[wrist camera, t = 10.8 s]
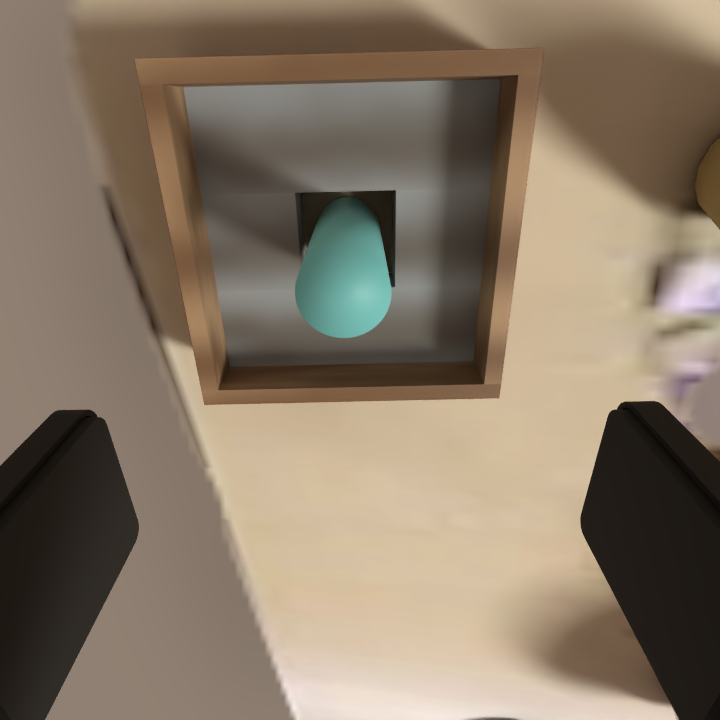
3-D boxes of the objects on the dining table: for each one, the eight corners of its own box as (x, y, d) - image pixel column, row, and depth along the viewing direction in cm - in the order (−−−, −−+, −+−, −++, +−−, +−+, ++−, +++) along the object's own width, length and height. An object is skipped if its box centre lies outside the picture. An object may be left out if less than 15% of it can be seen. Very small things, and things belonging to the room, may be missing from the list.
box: (179, 69, 26) (134, 58, 21) (506, 60, 26) (544, 47, 21) (227, 359, 35) (204, 404, 29) (477, 354, 35) (499, 398, 29)
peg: (314, 197, 30) (290, 247, 19) (379, 196, 30) (391, 244, 19) (318, 261, 31) (298, 339, 21) (379, 260, 31) (391, 336, 21)
